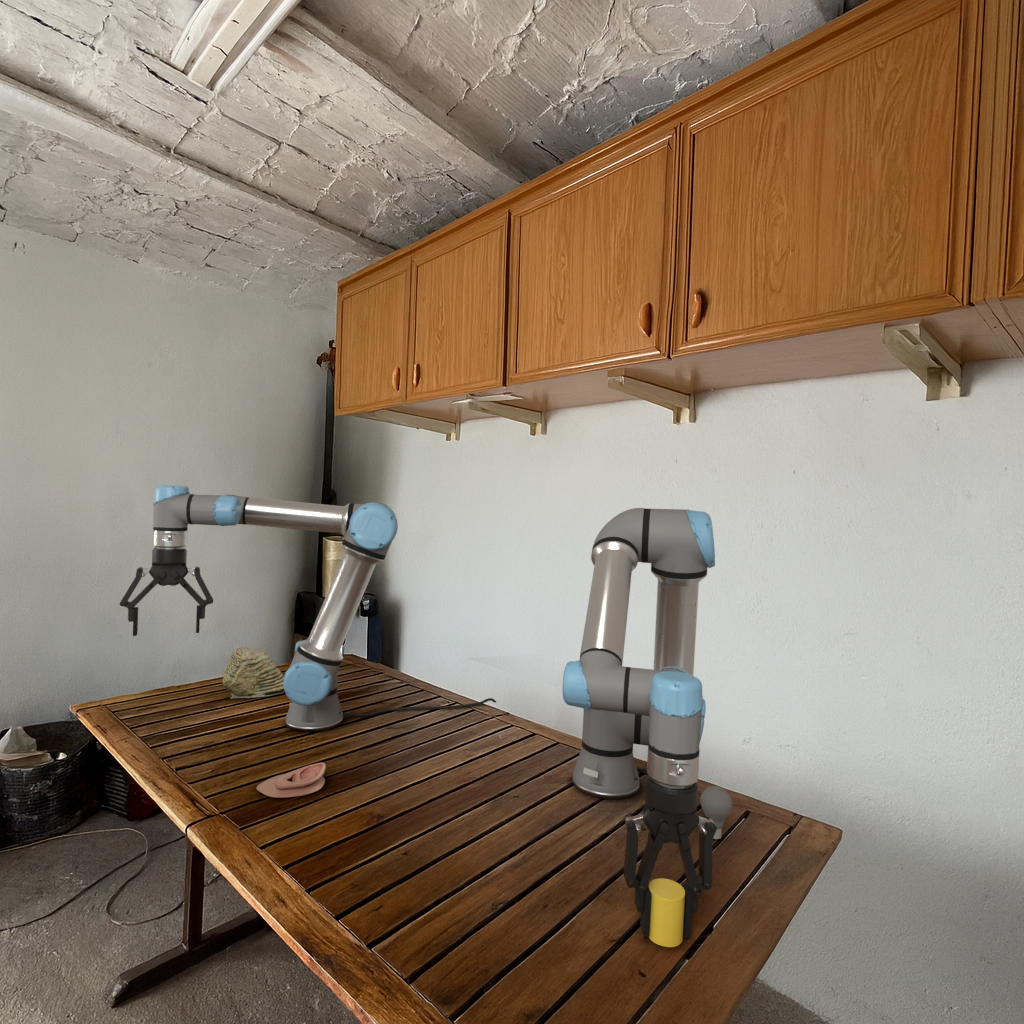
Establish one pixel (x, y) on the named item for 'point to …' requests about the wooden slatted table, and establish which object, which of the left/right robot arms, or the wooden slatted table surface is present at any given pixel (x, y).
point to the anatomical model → (295, 782)
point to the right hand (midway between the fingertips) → (664, 931)
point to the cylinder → (666, 912)
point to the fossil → (252, 674)
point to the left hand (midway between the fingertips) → (166, 633)
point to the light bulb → (716, 806)
